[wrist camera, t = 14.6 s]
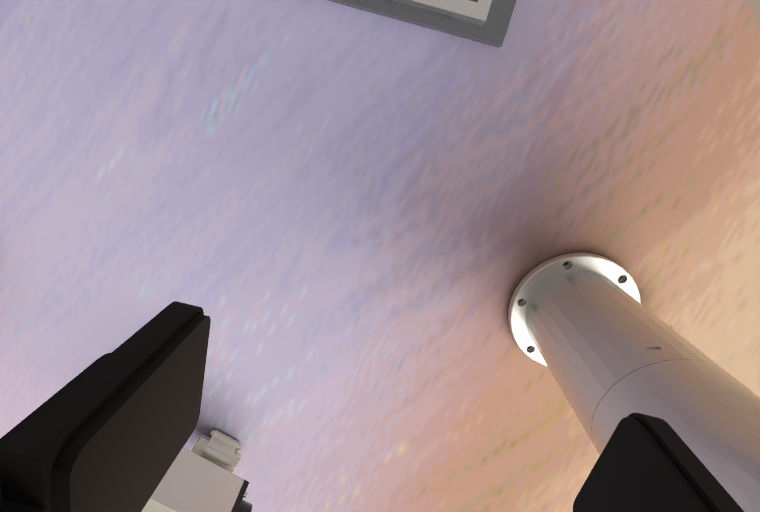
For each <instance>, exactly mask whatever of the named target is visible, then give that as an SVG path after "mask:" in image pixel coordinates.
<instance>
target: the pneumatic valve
mask: <svg viewBox="0 0 760 512" xmlns="http://www.w3.org/2000/svg"><path fill="white" fill-rule="evenodd" d="M210 435H211V437H208V436H206V435H204V434H203V435H201V437H200V438H199V439H198V441H197V443H196V444H195V446H194V447H193V449H192V450H191V451H190V450H188V449H186V448H184V447H183V448H182V449H181V451H180V453H179V454H178V456H177V457H176V459H175V460H174V462H173V463H172V465H171V466H170V468H169V470H168V471H167V473H166V474H165V476H164V477H163V479H162V480H161V482H160V483H159V485H158V487H157V488H156V490H155V491H154V493H153V494H152V496H151V497H150V499H149V500H148V502H147V504H146V505H145V507H144V508H143V510H142V511H141V512H251V510H252V504H250V503H248V502H246V501H245V500H243V497H246V496H247V494H248V492H247V491H246V489H247V486H248V484H249V482H248V481H246V480H244V479H242V478H240V477H238V476H237V475H235V474H233V473H232V472H233V470H234V469H235V467H236V466H237V464H238V462H239V460H240V458H241V455H240V454H239V453H237V452H236V451H235V449H236V450H238V449H240V448H241V445H240V444H239V442H238V441H236V440H234V439H233V438H231V437H229V436H227V435H225V434H223V433H222V432H220V431H218V430H212V431H211V433H210Z"/></svg>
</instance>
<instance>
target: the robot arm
mask: <svg viewBox="0 0 760 512" xmlns="http://www.w3.org/2000/svg"><path fill="white" fill-rule="evenodd" d="M564 262H566V263H565V264H564ZM521 298H522V299H521ZM519 299H521V300H519ZM508 323H509V328H510V331H511V334H512V336H513V338H514V340H515V342H516V343H517V345H518V347H519V348H520V349H521V350H522V351H523V353H524V354H525V355H527V356H528V357H529V358H531V359H532V360H534V361H535V362H538V363H540V364H542V365H545V366H548V367H549V369H550V371H551V373H552V374H553V376H554V378H555V379H556V381H557V383H558V384H559V386H560V388H561V390H562V391H563V393H564V395H565V396H566V398H567V400H568V402H569V403H570V405H571V407H572V408H573V410H574V412H575V413H576V415H577V417H578V419H579V420H580V422H581V424H582V425H583V427H584V429H585V430H586V432H587V434H588V436H589V437H590V439H591V441H592V442H593V444H594V446H595V447H596V449H597V451H598V453H599V454H600V457H599V459H598V460H597V462H596V464H595V466H594V467H593V469H592V471H591V473H590V474H589V476H588V478H587V480H586V481H585V483H584V485H583V486H582V488H581V490H580V492H579V493H578V495H577V497H576V499H575V501H574V504H573V512H760V397H759V396H757V395H756V394H755V393H754V392H752V391H751V390H750V389H748V388H747V387H746V386H745V385H743V384H742V383H741V382H739V381H738V380H737V379H736V378H734V377H733V376H732V375H731V374H729V373H728V372H727V371H725V370H724V369H723V368H722V367H720V366H719V365H718V364H716V363H715V362H714V361H713V360H711V359H710V358H709V357H708V356H706V355H705V354H704V353H703V352H701V351H700V350H699V349H697V348H696V347H695V346H694V345H692V344H691V343H690V342H689V341H687V340H686V339H685V338H684V337H682V336H681V335H680V334H679V333H677V332H676V331H675V330H674V329H673V327H672V326H669V325H667V324H666V323H665V322H663V321H662V320H661V319H660V318H658V317H657V316H656V315H654V314H653V313H652V312H651V311H649V310H648V309H647V308H646V307H644V306H643V305H642V304H641V298H640V293H639V290H638V287H637V284H636V283H635V281H634V279H633V278H632V276H631V275H630V274H629V273H628V272H627V271H626V270H625V269H624V268H623V267H621V266H620V265H619V264H617V263H616V262H614V261H612V260H610V259H608V258H606V257H604V256H600V255H596V254H593V253H580V252H578V253H569V254H564V255H560V256H557V257H553V258H551V259H549V260H547V261H545V262H543V263H541V264H540V265H538V266H537V267H535V268H534V269H532V270H531V271H530V272H529V273H528V274H527V275H526V276H525V277H524V278H523V279H522V280H521V282H520V283H519V284H518V286H517V287H516V289H515V291H514V293H513V295H512V297H511V300H510V304H509V308H508ZM209 330H210V317H209V316H205V315H204V312H203V309H202V308H201V307H197V306H193V305H189V304H185V303H181V302H172V303H171V304H170V305H168V306H167V307H166V308H165V309H164V310H162V311H161V312H160V313H159V314H158V315H156V316H155V317H154V318H153V319H152V320H150V321H149V322H148V323H147V324H146V325H144V326H143V327H142V328H141V329H140V330H138V331H137V332H136V333H135V334H134V335H132V336H131V337H130V338H129V339H128V340H126V341H125V342H124V343H123V344H122V345H120V346H119V347H118V348H117V349H116V350H114V351H113V352H112V353H108V354H105V355H103V356H102V357H100V358H98V359H97V360H96V361H95V362H94V363H92V364H91V365H90V366H89V367H87V368H86V369H85V370H84V371H83V372H81V373H80V374H79V375H78V376H76V377H75V378H74V379H73V380H72V381H70V382H69V383H68V384H67V385H65V386H64V387H63V388H62V389H61V390H59V391H58V392H57V393H56V394H54V395H53V396H52V397H51V398H50V399H48V400H47V401H46V402H45V403H43V404H42V405H41V406H40V407H39V408H37V409H36V410H35V411H34V412H32V413H31V414H30V415H29V416H28V417H26V418H25V419H24V420H23V421H21V422H20V423H19V424H18V425H17V426H15V427H14V428H13V429H12V430H10V431H9V432H8V433H7V434H6V435H4V436H3V437H2V438H1V439H0V512H141V511H142V510H143V508H144V507H145V505H146V504H147V502H148V500H149V499H150V497H151V496H152V494H153V493H154V491H155V490H156V488H157V487H158V485H159V483H160V482H161V480H162V479H163V477H164V476H165V474H166V473H167V471H168V470H169V468H170V466H171V465H172V463H173V462H174V460H175V459H176V457H177V456H178V454H179V453H180V451H181V449H182V448H183V446H184V445H185V443H186V442H187V440H188V439H189V437H190V435H191V434H192V432H193V431H194V429H195V427H196V424H197V422H198V418H199V414H200V406H201V398H202V389H203V381H204V372H205V364H206V355H207V347H208V338H209Z"/></svg>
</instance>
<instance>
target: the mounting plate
mask: <svg viewBox="0 0 760 512" xmlns="http://www.w3.org/2000/svg"><path fill="white" fill-rule="evenodd" d="M328 1H332V2H336V3H339V4H343V5H347V6H350V7H354V8H358V9H361V10H365V11H368V12H372V13H376V14H379V15H383V16H387V17H390V18H394V19H398V20H401V21H405V22H409V23H412V24H416V25H420V26H423V27H427V28H431V29H434V30H438V31H442V32H445V33H449V34H452V35H456V36H460V37H463V38H467V39H471V40H474V41H478V42H482V43H485V44H489V45H493V46H496V47H500V46H502V43H503V40H504V37H505V34H506V31H507V27H508V24H509V21H510V18H511V15H512V12H513V8H514V5H515V2H516V0H328Z"/></svg>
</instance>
